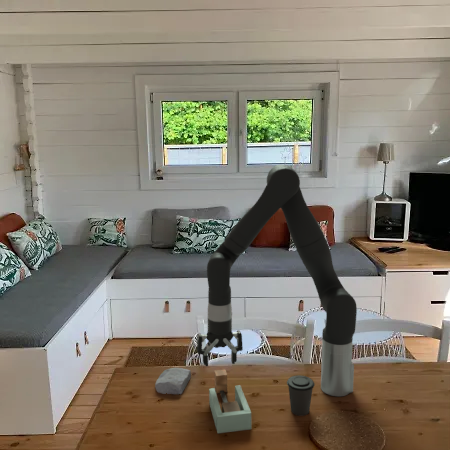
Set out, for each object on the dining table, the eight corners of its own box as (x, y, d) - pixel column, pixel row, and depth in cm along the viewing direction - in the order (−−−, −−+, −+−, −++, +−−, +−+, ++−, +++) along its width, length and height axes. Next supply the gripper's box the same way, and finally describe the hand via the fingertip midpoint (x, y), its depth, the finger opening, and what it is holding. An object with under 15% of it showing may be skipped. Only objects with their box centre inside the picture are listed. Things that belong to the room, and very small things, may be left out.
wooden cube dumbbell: (226, 386, 155) (226, 369, 154) (240, 425, 135) (240, 406, 133) (213, 387, 154) (212, 370, 153) (225, 427, 134) (224, 407, 133)
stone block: (154, 398, 152) (183, 395, 150) (151, 384, 152) (180, 381, 149) (166, 380, 164) (193, 377, 161) (163, 367, 163) (190, 364, 161)
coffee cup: (315, 405, 144) (316, 375, 142) (311, 420, 136) (312, 389, 134) (289, 400, 146) (289, 371, 144) (283, 415, 139) (284, 384, 137)
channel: (240, 400, 147) (240, 385, 146) (251, 429, 133) (251, 412, 132) (209, 403, 145) (209, 388, 144) (217, 433, 131) (217, 417, 130)
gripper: (239, 309, 153) (239, 356, 156) (195, 312, 150) (195, 360, 153) (244, 318, 146) (244, 367, 149) (198, 322, 143) (198, 371, 146)
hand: (219, 364), depth 151 cm, fingers open, 8 cm apart
